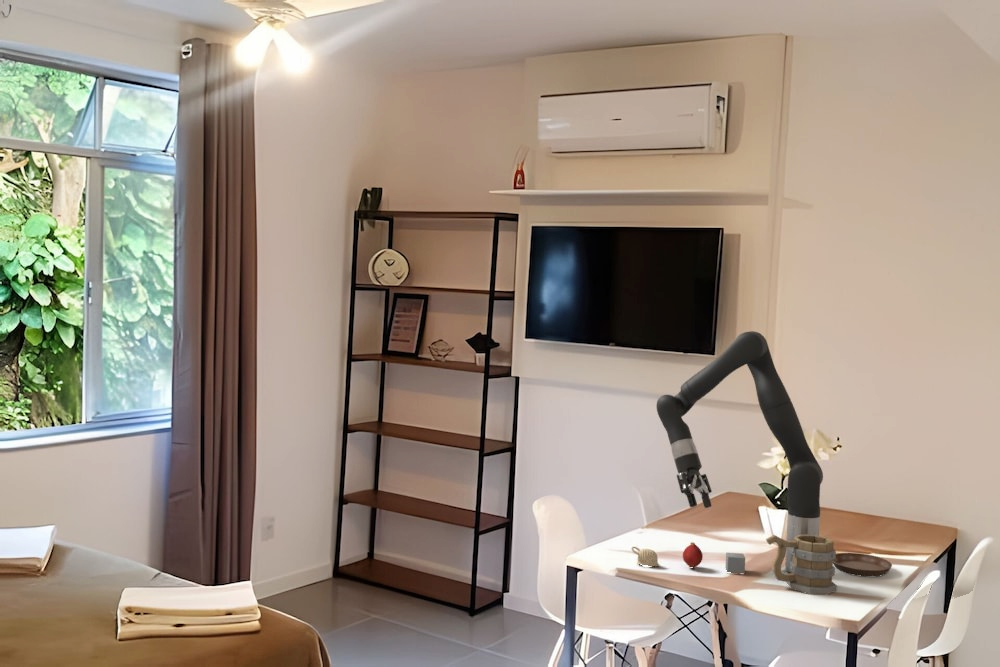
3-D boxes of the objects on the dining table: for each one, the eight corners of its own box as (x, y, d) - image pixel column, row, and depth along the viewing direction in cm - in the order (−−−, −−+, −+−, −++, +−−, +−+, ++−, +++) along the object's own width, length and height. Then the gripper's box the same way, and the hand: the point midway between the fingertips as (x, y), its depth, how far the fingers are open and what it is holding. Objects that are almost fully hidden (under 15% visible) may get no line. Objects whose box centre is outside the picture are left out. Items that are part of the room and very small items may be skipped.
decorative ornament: (656, 569, 292) (657, 551, 292) (629, 565, 295) (630, 547, 295) (660, 566, 295) (661, 548, 295) (633, 561, 299) (634, 544, 299)
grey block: (742, 570, 294) (743, 553, 294) (744, 574, 289) (745, 558, 289) (725, 568, 295) (726, 552, 295) (727, 573, 290) (728, 556, 290)
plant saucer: (883, 583, 286) (883, 572, 286) (822, 571, 296) (822, 561, 296) (897, 569, 301) (898, 560, 301) (839, 559, 311) (839, 549, 311)
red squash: (688, 564, 298) (689, 538, 297) (705, 568, 294) (706, 542, 294) (678, 568, 293) (679, 541, 293) (696, 572, 290) (697, 545, 289)
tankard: (824, 581, 285) (827, 530, 284) (841, 595, 273) (844, 541, 272) (757, 579, 284) (759, 528, 284) (770, 593, 272) (773, 540, 271)
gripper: (683, 450, 296) (699, 502, 290) (707, 453, 307) (723, 503, 300) (663, 459, 300) (678, 510, 294) (688, 461, 311) (703, 511, 305)
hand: (701, 506), depth 297 cm, fingers open, 8 cm apart
